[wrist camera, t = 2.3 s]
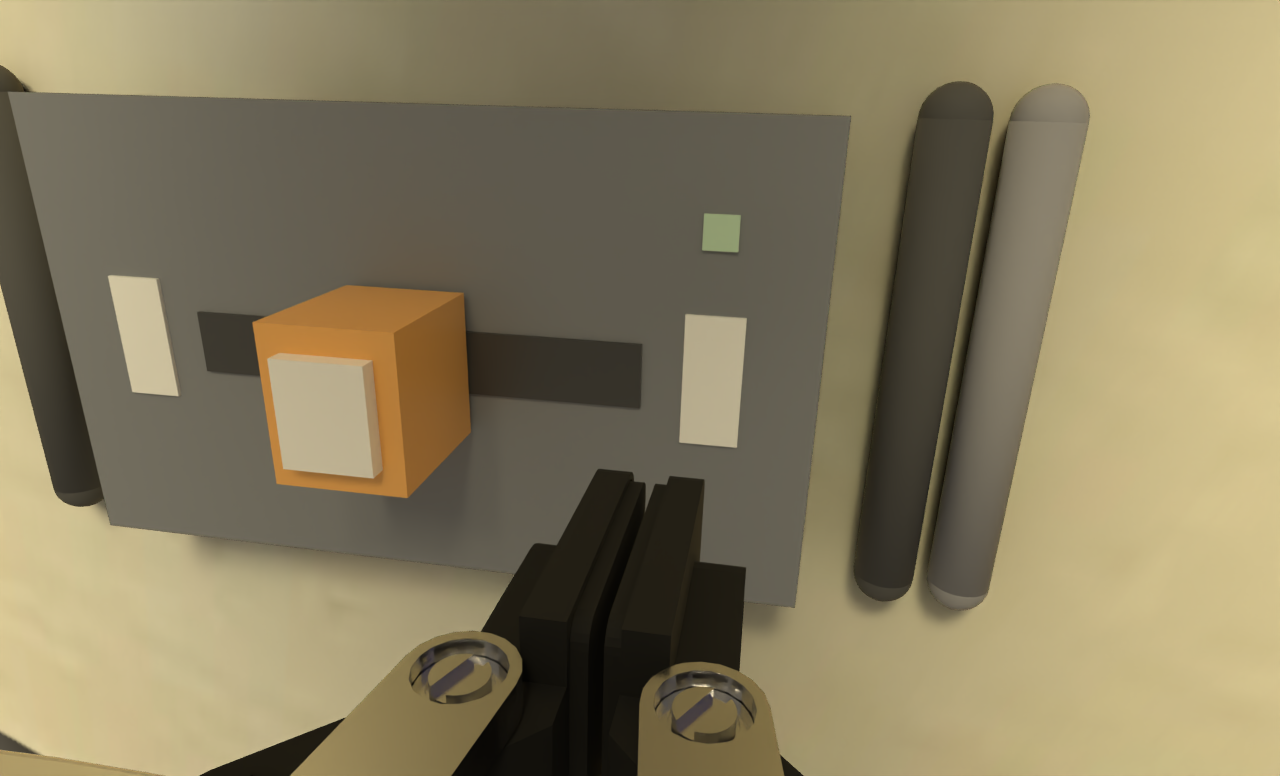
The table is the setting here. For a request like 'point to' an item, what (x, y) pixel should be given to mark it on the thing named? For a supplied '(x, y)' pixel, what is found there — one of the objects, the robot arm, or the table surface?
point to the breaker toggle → (365, 388)
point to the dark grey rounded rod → (40, 323)
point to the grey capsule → (921, 332)
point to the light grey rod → (1006, 337)
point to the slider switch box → (493, 300)
